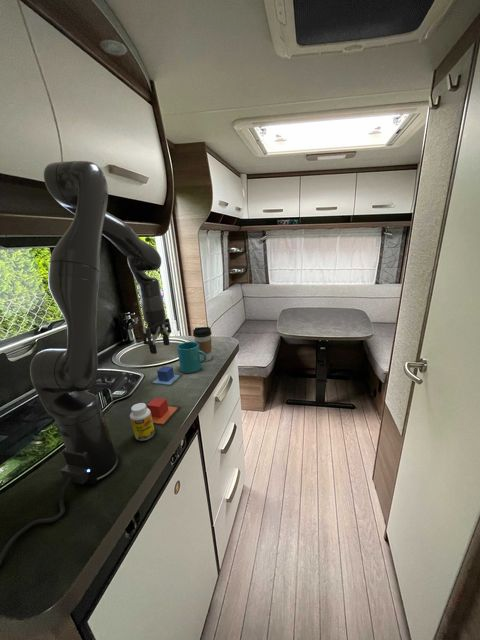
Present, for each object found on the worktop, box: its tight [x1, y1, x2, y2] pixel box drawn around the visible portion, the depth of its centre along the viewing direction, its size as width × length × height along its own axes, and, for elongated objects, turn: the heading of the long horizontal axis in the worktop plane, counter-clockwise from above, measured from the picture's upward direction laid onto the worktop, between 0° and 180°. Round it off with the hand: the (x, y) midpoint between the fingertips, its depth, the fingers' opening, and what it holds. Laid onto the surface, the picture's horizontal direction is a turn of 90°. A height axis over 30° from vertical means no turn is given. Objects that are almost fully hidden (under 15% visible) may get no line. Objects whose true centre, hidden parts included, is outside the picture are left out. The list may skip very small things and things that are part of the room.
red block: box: [146, 397, 169, 418], centre depth 92 cm, size 4×4×4 cm
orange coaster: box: [152, 405, 179, 425], centre depth 92 cm, size 9×9×1 cm
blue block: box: [156, 365, 175, 381], centre depth 114 cm, size 4×4×4 cm
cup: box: [176, 341, 207, 374], centre depth 120 cm, size 9×12×11 cm
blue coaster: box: [151, 373, 181, 386], centre depth 114 cm, size 8×8×1 cm
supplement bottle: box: [129, 402, 156, 442], centre depth 81 cm, size 6×6×10 cm
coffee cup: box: [192, 326, 212, 362], centre depth 129 cm, size 8×8×15 cm
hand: (160, 349), depth 106 cm, fingers open, 8 cm apart
